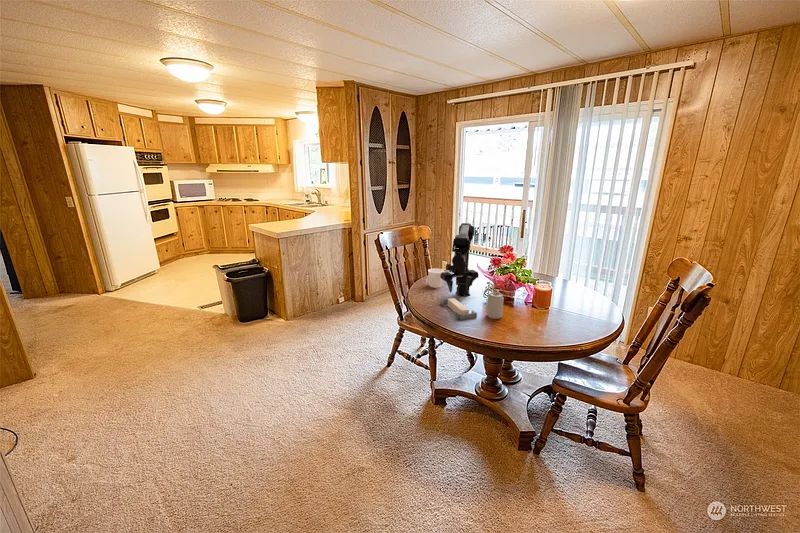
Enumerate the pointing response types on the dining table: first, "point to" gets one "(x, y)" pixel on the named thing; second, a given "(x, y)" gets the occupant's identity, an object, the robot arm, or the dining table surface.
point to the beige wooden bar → (457, 306)
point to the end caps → (458, 316)
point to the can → (495, 305)
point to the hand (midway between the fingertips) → (458, 291)
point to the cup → (435, 277)
